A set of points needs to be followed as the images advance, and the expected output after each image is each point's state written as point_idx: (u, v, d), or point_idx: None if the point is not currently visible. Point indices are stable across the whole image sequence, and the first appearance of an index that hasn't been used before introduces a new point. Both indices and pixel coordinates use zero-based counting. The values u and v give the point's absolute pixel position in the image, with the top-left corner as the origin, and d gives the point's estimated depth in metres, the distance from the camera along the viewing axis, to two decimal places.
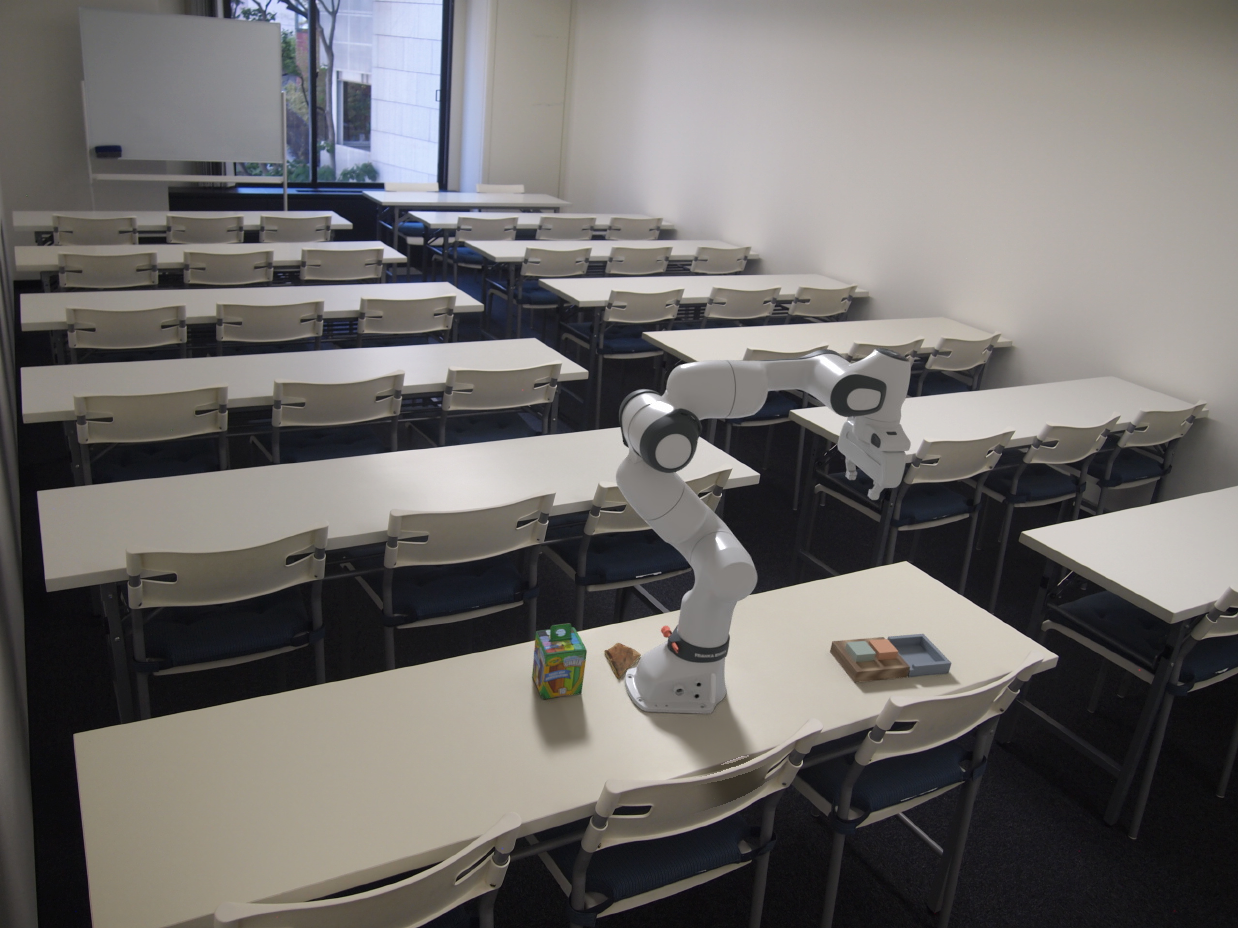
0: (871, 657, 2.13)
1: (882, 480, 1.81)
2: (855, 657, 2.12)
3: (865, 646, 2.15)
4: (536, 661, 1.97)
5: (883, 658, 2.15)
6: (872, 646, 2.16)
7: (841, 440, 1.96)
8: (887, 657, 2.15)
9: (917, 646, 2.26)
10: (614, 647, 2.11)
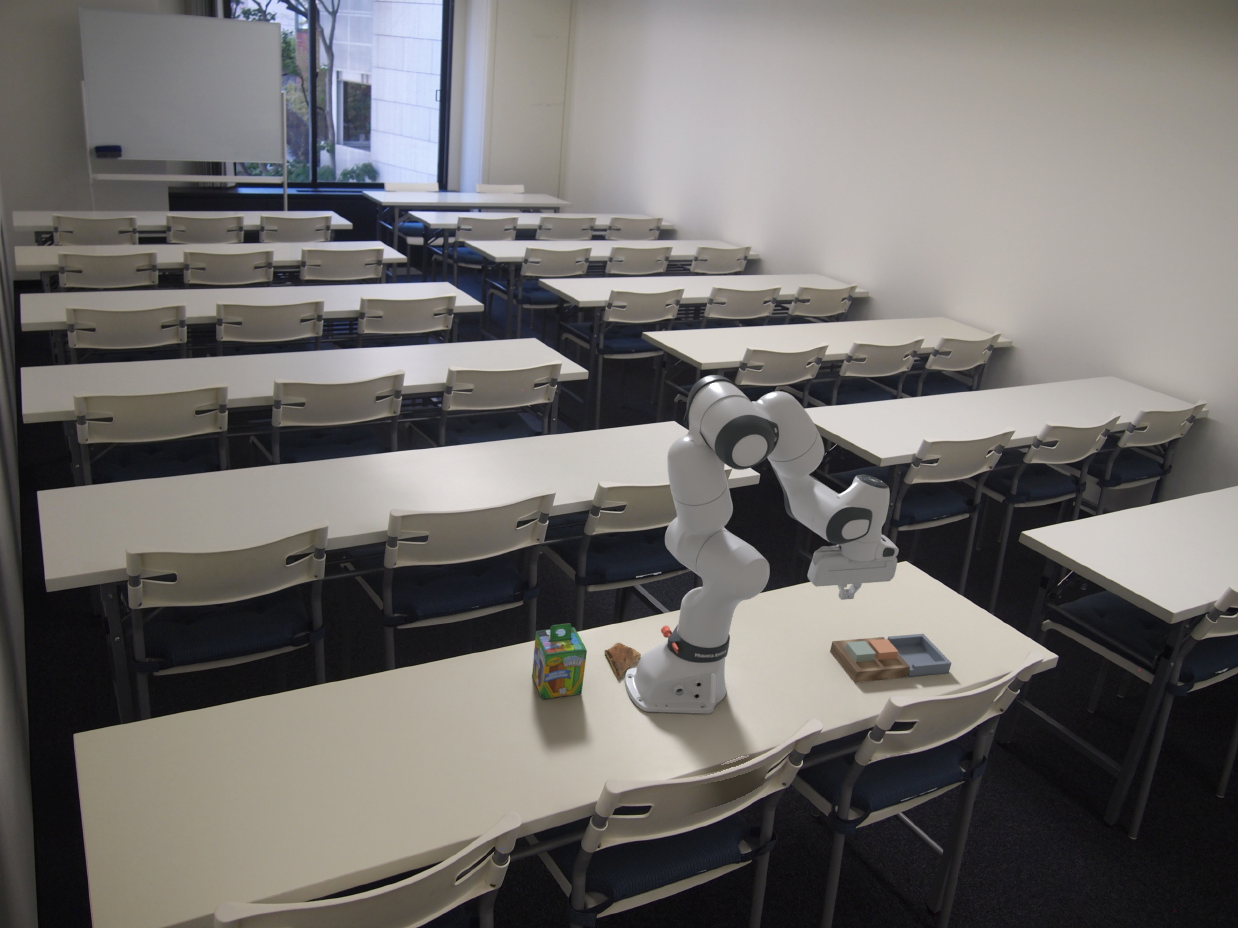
0: (871, 657, 2.13)
1: (890, 576, 2.05)
2: (855, 657, 2.12)
3: (865, 646, 2.15)
4: (536, 661, 1.97)
5: (883, 658, 2.15)
6: (872, 646, 2.16)
7: (821, 576, 2.00)
8: (887, 657, 2.15)
9: (917, 646, 2.26)
10: (614, 647, 2.11)
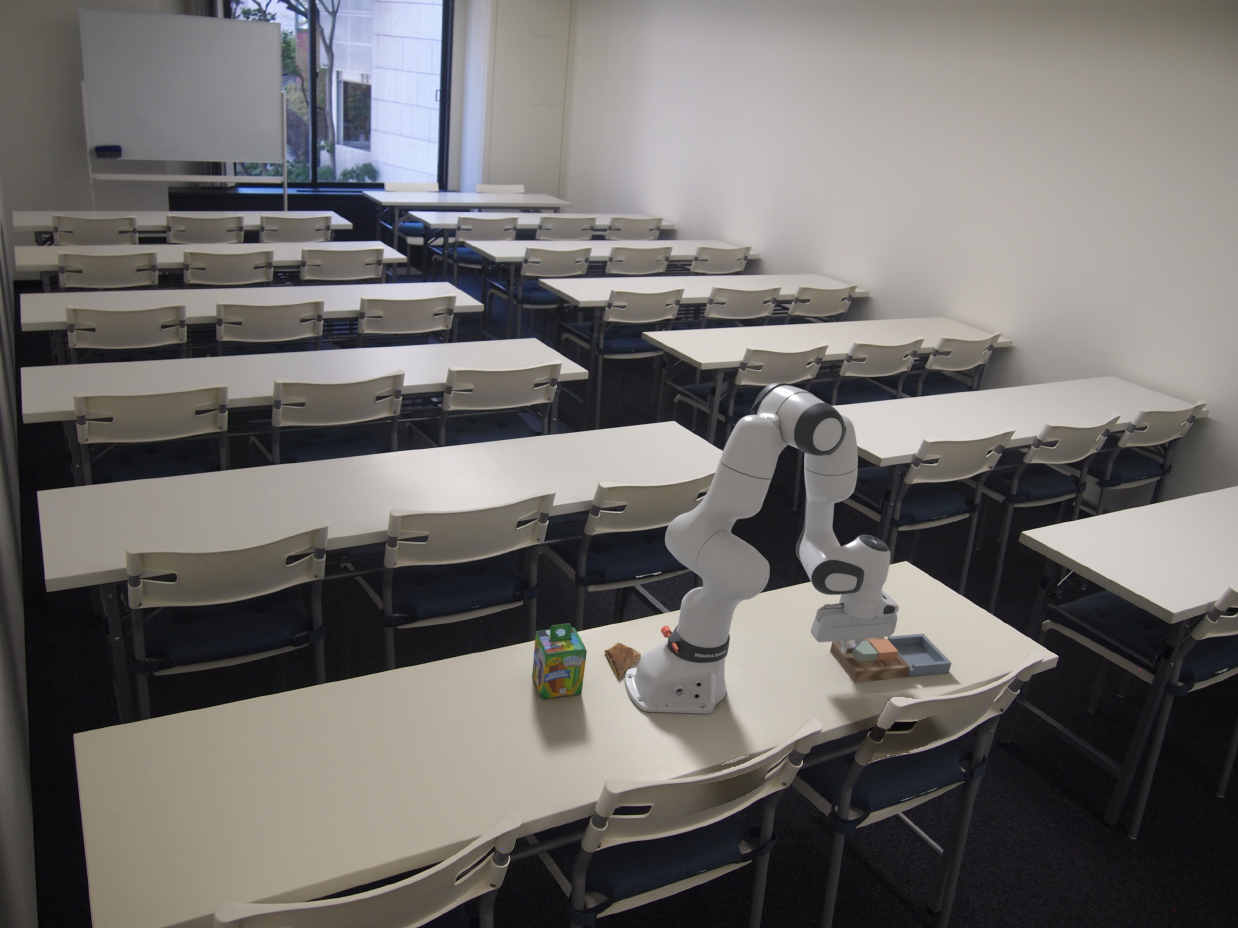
0: (873, 657, 2.14)
1: (891, 631, 2.12)
2: (857, 657, 2.13)
3: (867, 646, 2.16)
4: (536, 661, 1.97)
5: (883, 658, 2.15)
6: None
7: (824, 632, 2.07)
8: (887, 657, 2.15)
9: (917, 646, 2.26)
10: (614, 647, 2.11)
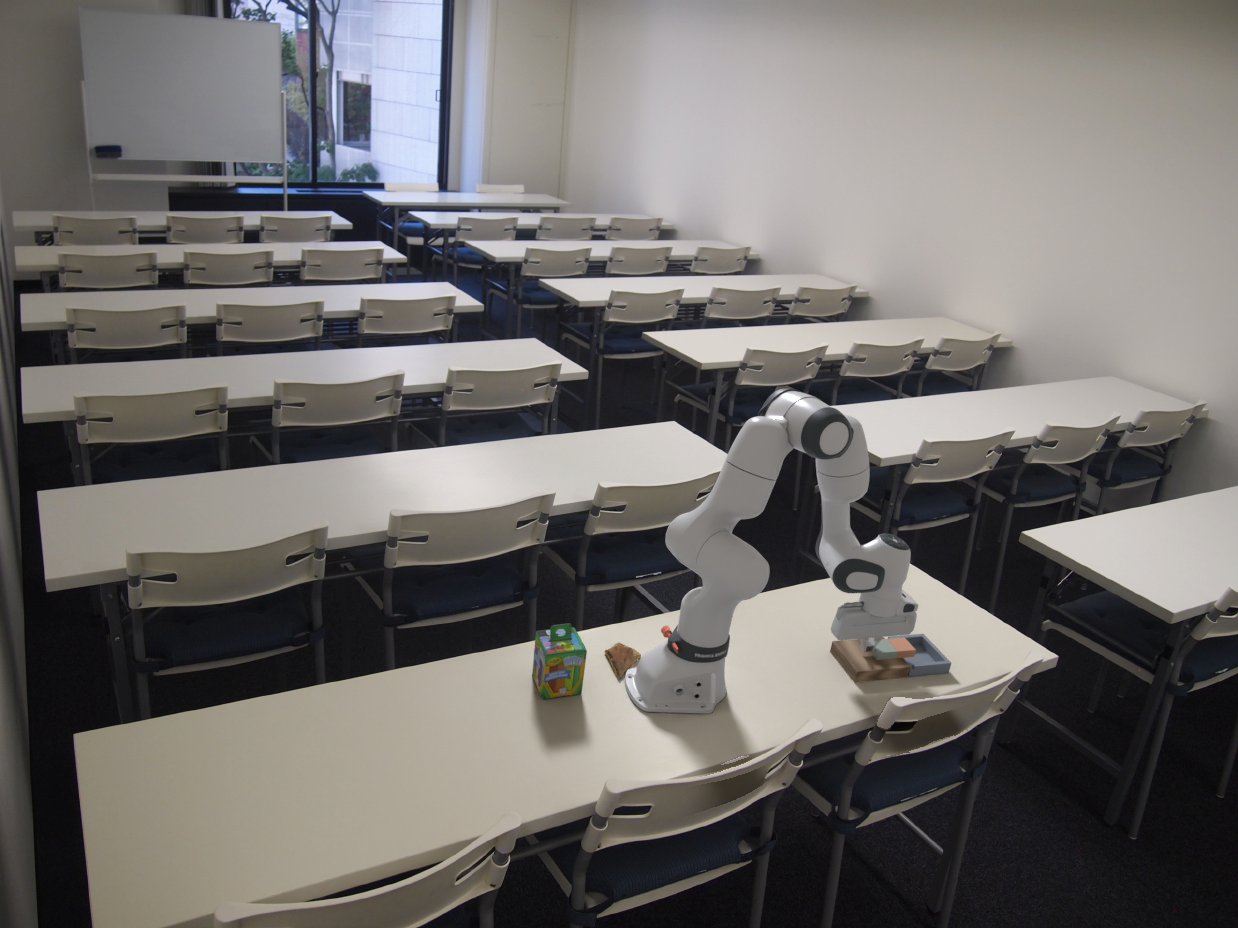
0: (892, 655, 2.15)
1: (910, 629, 2.14)
2: (877, 655, 2.14)
3: (886, 644, 2.17)
4: (536, 661, 1.97)
5: (901, 657, 2.16)
6: None
7: (844, 631, 2.09)
8: (904, 655, 2.16)
9: (917, 646, 2.26)
10: (614, 647, 2.11)
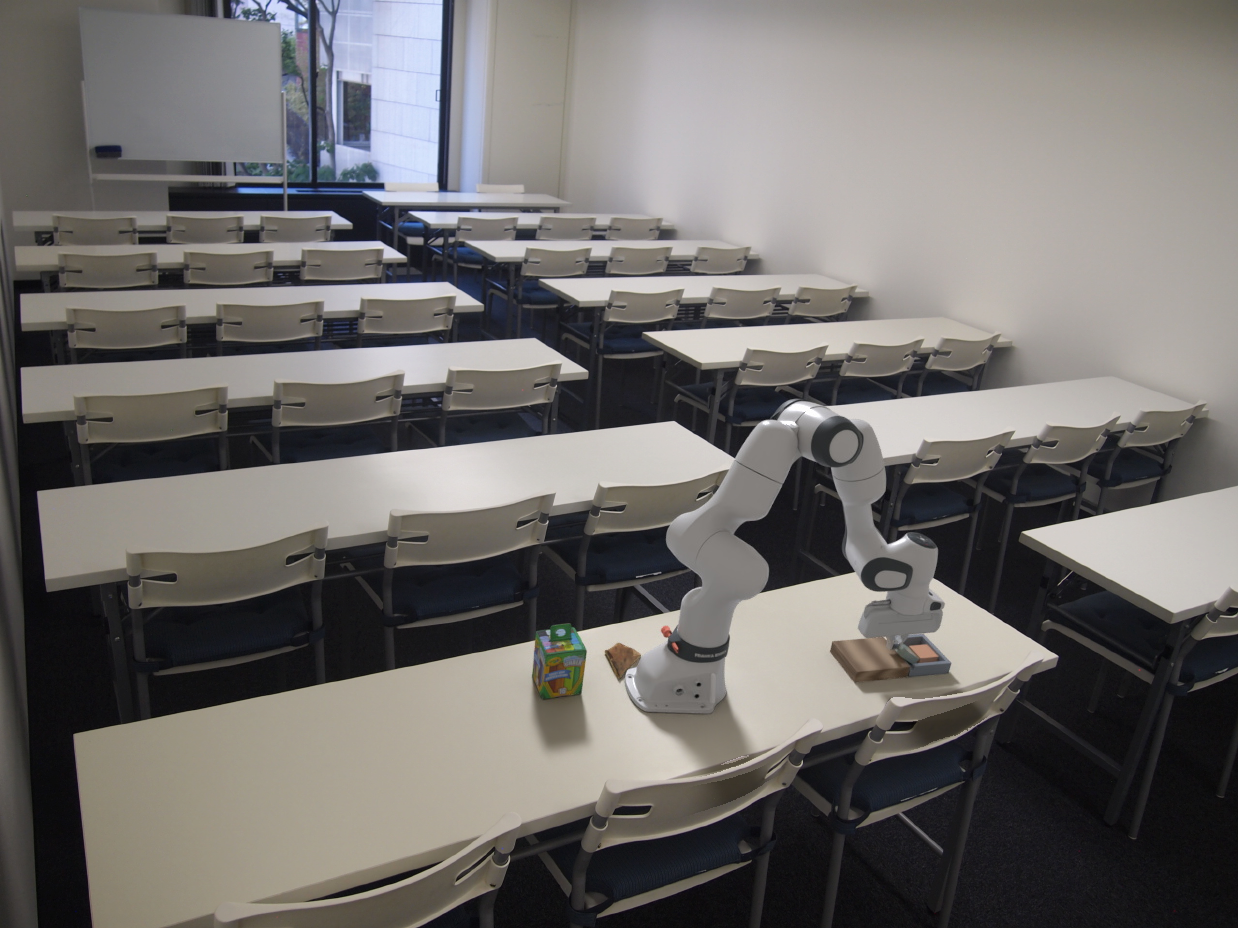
0: (914, 660, 2.18)
1: (936, 627, 2.16)
2: (903, 652, 2.16)
3: (909, 649, 2.20)
4: (536, 661, 1.97)
5: (933, 657, 2.19)
6: None
7: (872, 628, 2.11)
8: (930, 658, 2.19)
9: None
10: (614, 647, 2.11)
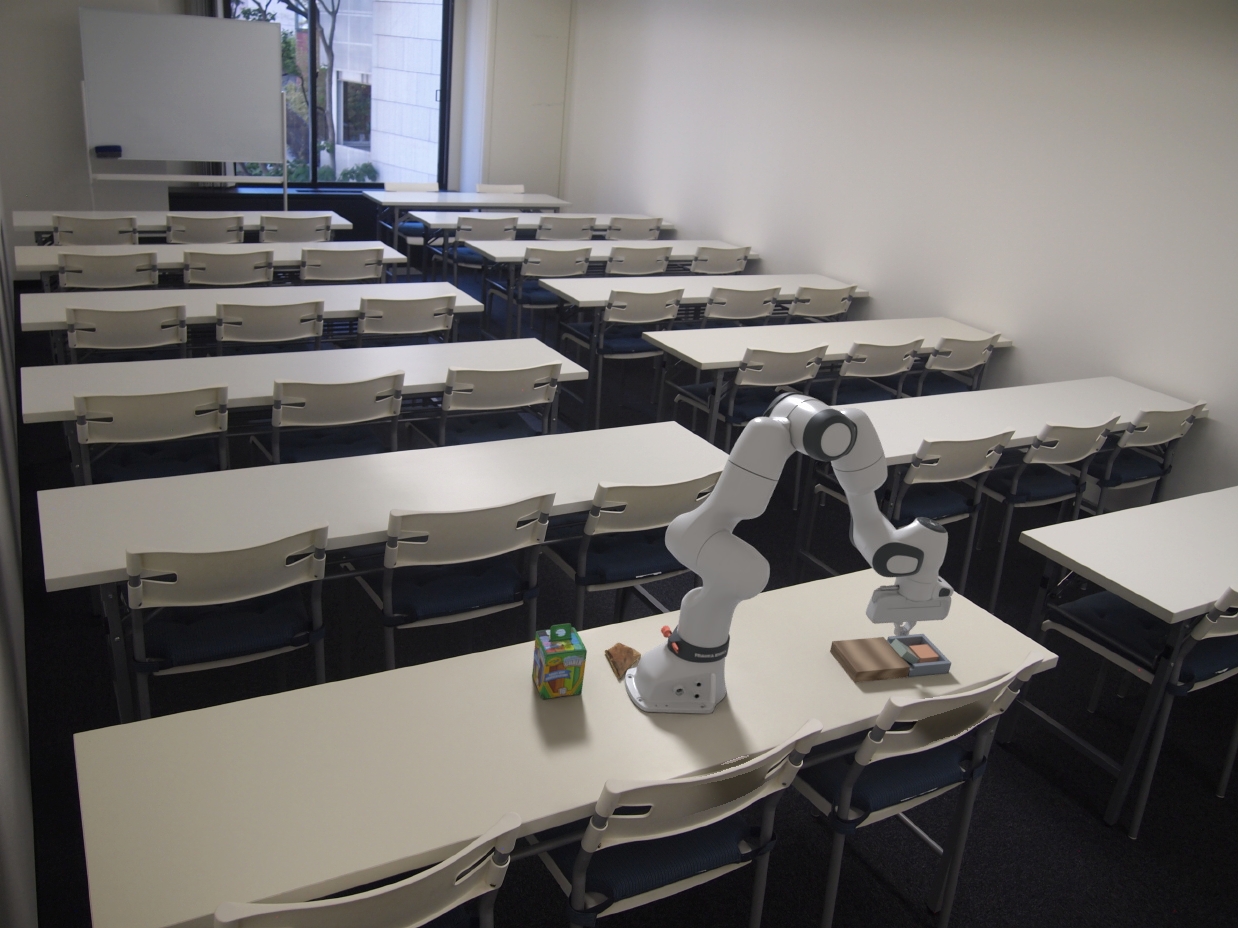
0: (914, 660, 2.18)
1: (944, 615, 2.14)
2: (903, 653, 2.16)
3: (909, 650, 2.20)
4: (536, 661, 1.97)
5: (933, 657, 2.19)
6: None
7: (880, 614, 2.09)
8: (930, 658, 2.19)
9: None
10: (614, 647, 2.11)
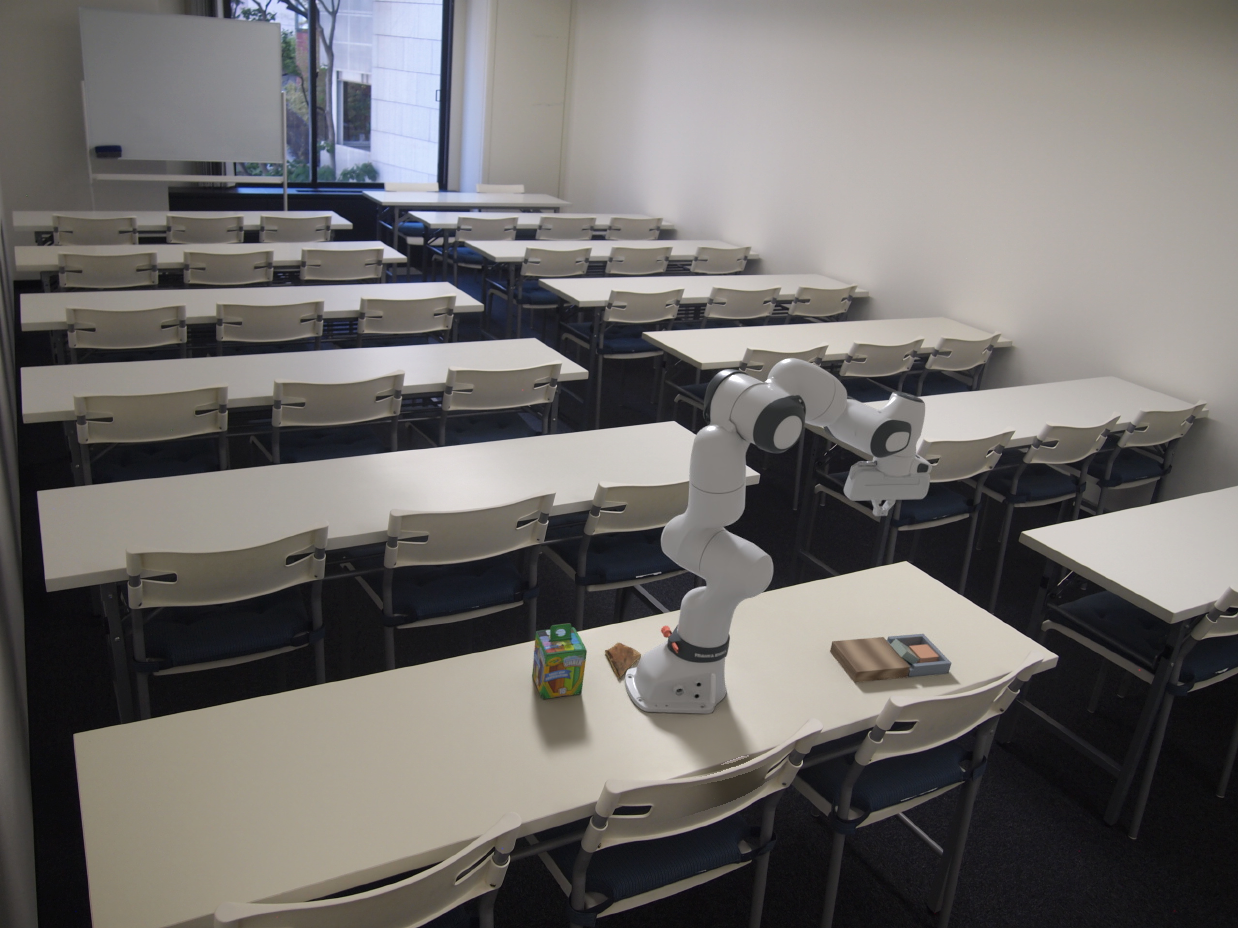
0: (914, 660, 2.18)
1: (923, 493, 2.12)
2: (903, 653, 2.16)
3: (909, 650, 2.20)
4: (536, 661, 1.97)
5: (933, 657, 2.19)
6: None
7: (857, 490, 2.07)
8: (930, 658, 2.19)
9: None
10: (614, 647, 2.11)
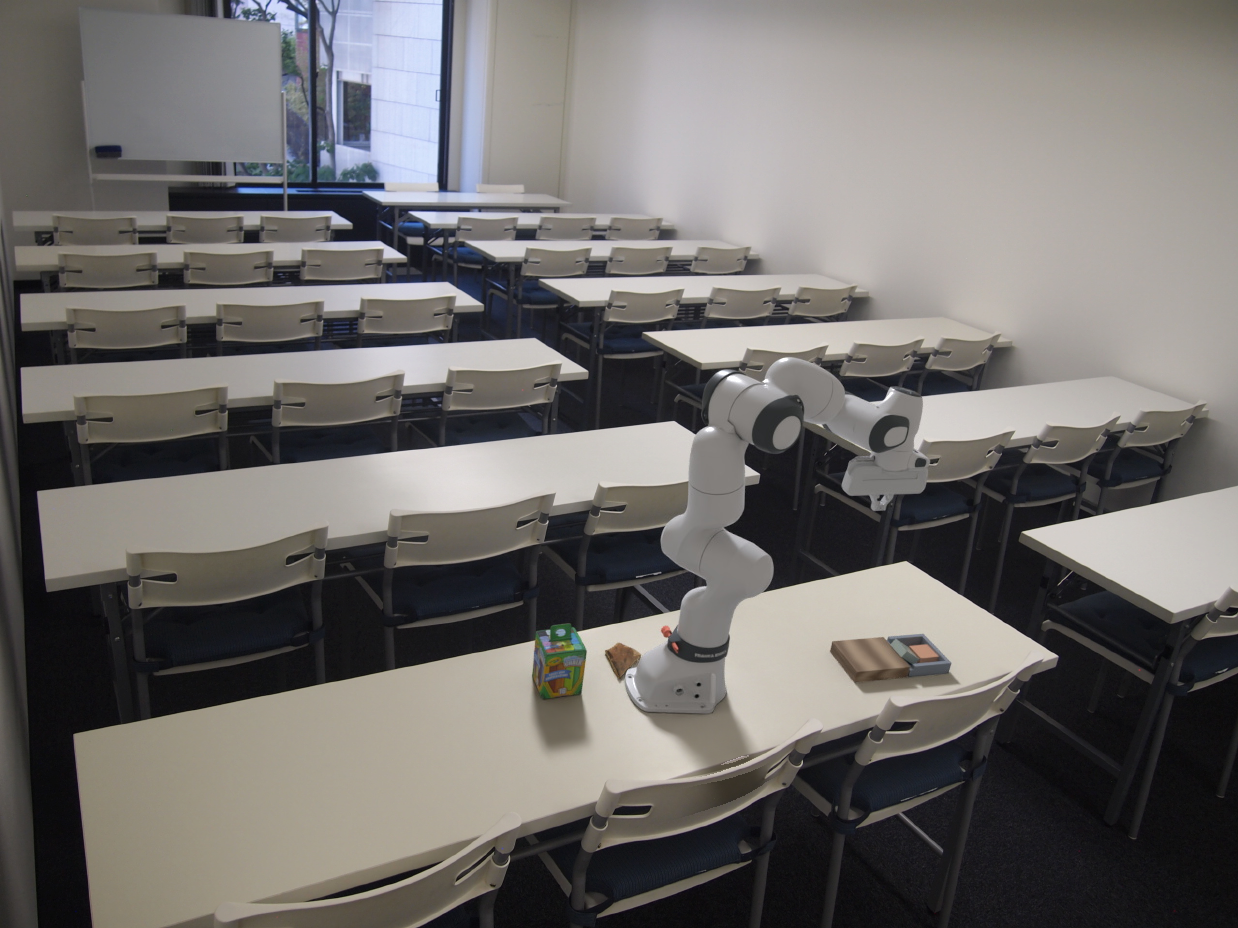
0: (914, 660, 2.18)
1: (921, 488, 2.12)
2: (903, 653, 2.16)
3: (909, 650, 2.20)
4: (536, 661, 1.97)
5: (933, 657, 2.19)
6: None
7: (856, 485, 2.07)
8: (930, 658, 2.19)
9: None
10: (614, 647, 2.11)
